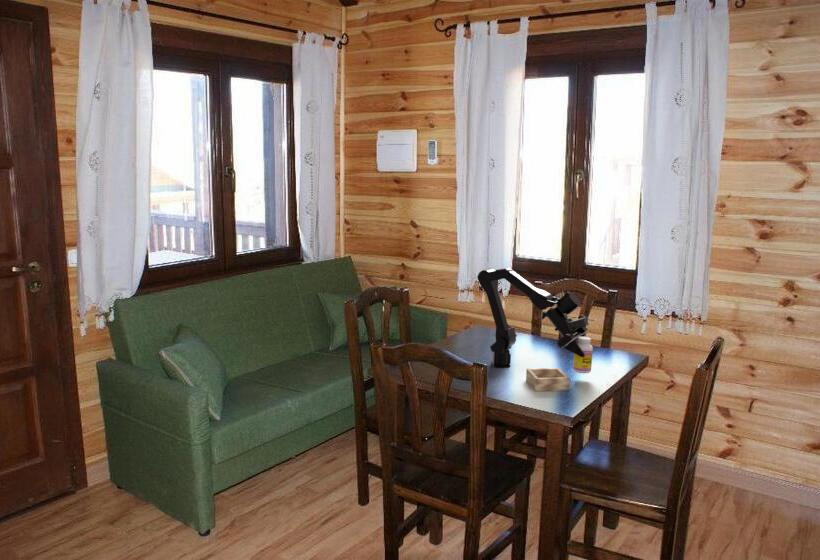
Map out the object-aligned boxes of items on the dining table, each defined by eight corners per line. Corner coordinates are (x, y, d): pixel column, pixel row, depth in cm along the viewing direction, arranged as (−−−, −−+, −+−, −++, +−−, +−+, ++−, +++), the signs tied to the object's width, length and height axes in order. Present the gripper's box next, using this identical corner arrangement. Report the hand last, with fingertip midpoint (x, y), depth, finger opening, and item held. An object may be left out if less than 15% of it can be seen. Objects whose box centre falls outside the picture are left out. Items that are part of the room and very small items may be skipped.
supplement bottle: (580, 374, 258) (583, 341, 256) (569, 369, 264) (571, 336, 262) (594, 372, 261) (597, 339, 259) (582, 367, 267) (585, 335, 265)
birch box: (535, 391, 250) (536, 379, 249) (526, 380, 262) (526, 368, 261) (569, 390, 251) (569, 378, 251) (558, 379, 264) (558, 367, 263)
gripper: (567, 313, 253) (595, 348, 249) (584, 304, 268) (610, 337, 265) (545, 331, 258) (572, 365, 255) (563, 321, 274) (588, 353, 270)
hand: (586, 354), depth 261 cm, fingers closed on supplement bottle, 7 cm apart
